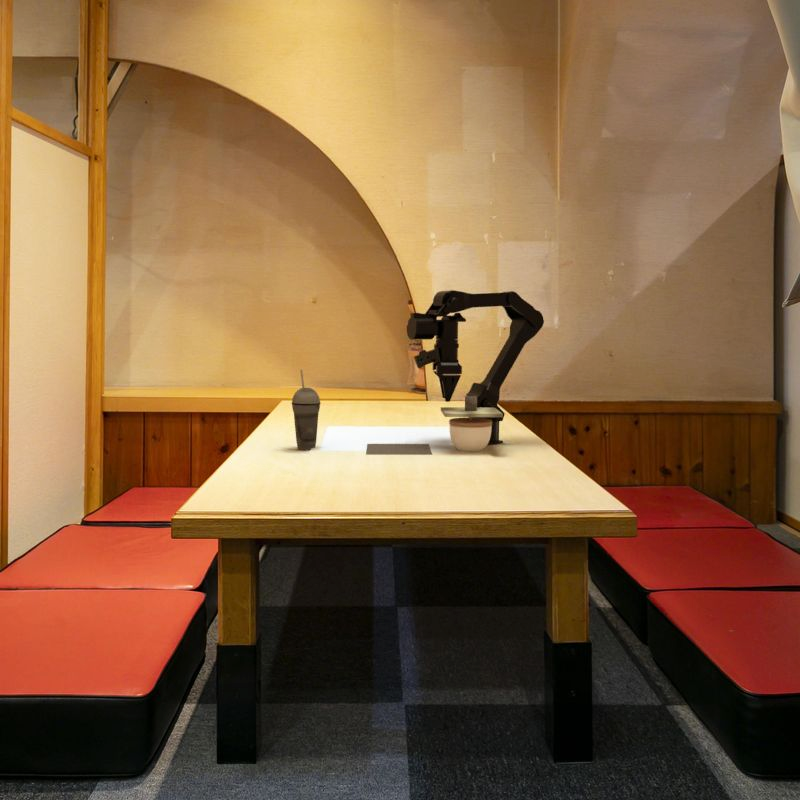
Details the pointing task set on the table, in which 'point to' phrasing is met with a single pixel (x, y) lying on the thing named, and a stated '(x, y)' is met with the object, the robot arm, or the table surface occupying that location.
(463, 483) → the table surface
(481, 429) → the lidded jar
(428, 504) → the table surface
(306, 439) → the beverage cup
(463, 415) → the lid
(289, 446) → the table surface
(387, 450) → the mat
